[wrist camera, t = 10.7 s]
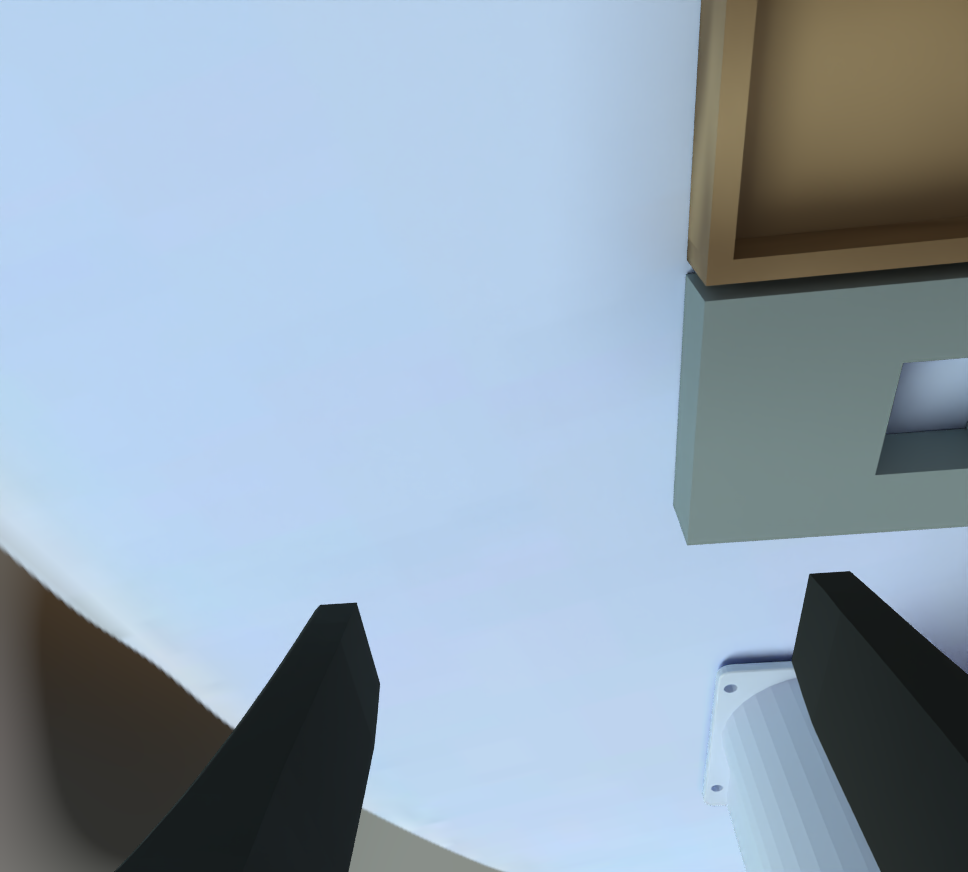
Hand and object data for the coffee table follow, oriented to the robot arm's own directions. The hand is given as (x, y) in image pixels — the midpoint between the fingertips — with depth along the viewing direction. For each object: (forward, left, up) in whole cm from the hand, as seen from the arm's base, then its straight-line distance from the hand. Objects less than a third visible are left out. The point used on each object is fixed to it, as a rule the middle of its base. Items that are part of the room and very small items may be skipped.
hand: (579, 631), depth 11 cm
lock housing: (-2, -11, -10) cm, 15 cm away
